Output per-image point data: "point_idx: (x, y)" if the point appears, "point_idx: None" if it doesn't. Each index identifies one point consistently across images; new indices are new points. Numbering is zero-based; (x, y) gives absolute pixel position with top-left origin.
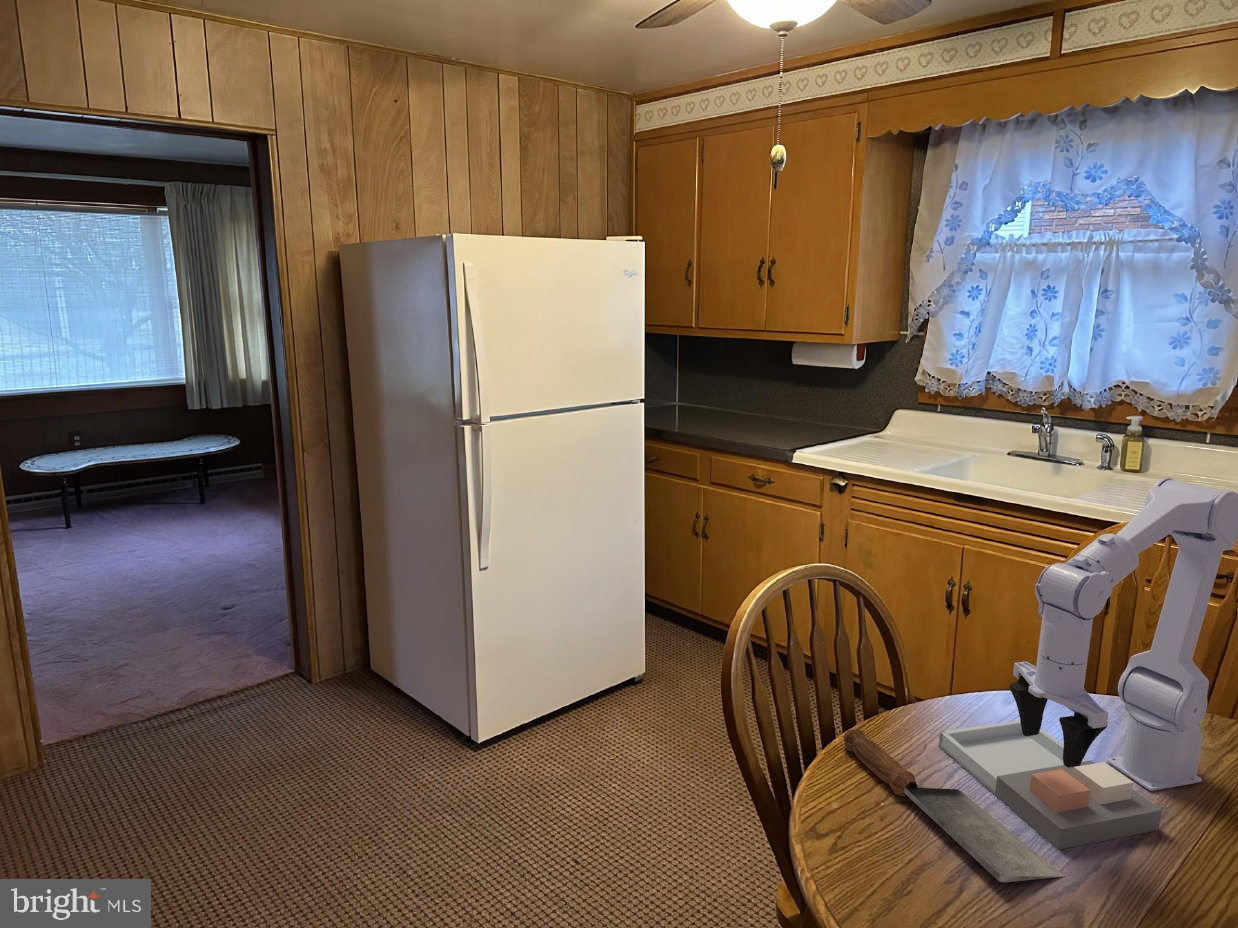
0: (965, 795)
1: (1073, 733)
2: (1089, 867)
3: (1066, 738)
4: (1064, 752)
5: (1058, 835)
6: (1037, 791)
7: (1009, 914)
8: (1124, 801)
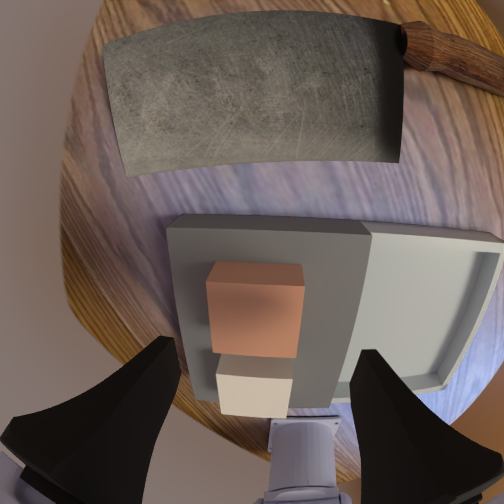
0: (378, 161)
1: (23, 415)
2: (138, 231)
3: (97, 405)
4: (143, 363)
5: (176, 222)
6: (277, 269)
7: (89, 50)
8: None
